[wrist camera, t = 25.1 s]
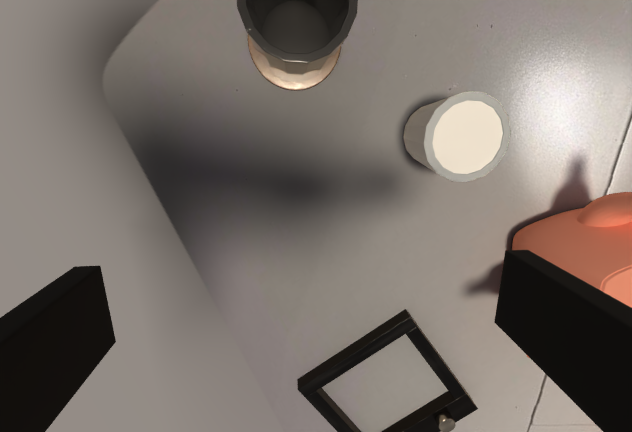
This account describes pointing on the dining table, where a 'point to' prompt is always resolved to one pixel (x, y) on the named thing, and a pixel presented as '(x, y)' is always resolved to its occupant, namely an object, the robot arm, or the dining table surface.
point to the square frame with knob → (417, 427)
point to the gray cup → (297, 33)
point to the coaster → (289, 84)
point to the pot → (588, 243)
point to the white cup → (459, 135)
